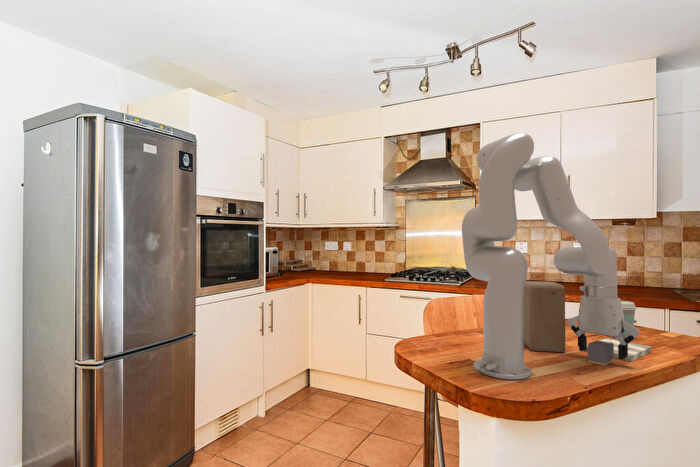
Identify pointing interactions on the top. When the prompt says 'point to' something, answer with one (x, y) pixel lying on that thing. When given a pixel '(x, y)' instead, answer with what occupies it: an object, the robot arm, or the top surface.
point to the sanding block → (600, 352)
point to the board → (629, 350)
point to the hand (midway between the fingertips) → (601, 354)
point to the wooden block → (544, 316)
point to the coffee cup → (628, 314)
